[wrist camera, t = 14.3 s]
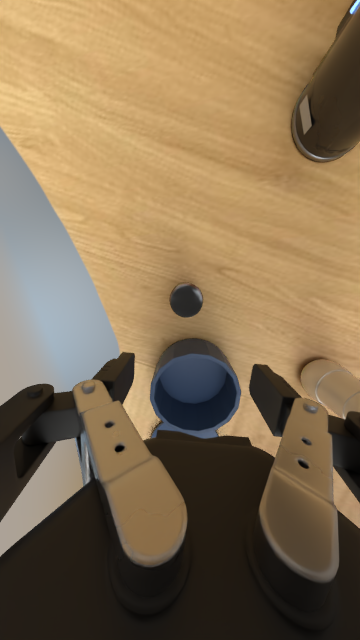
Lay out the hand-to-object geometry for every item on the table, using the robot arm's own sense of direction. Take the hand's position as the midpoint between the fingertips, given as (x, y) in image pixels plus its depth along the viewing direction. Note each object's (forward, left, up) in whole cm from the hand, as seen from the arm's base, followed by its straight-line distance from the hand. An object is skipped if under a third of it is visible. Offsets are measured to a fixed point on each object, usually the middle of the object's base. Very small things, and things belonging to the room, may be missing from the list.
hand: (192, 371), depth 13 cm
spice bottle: (-3, -1, -18) cm, 18 cm away
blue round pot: (+10, +2, -18) cm, 20 cm away
